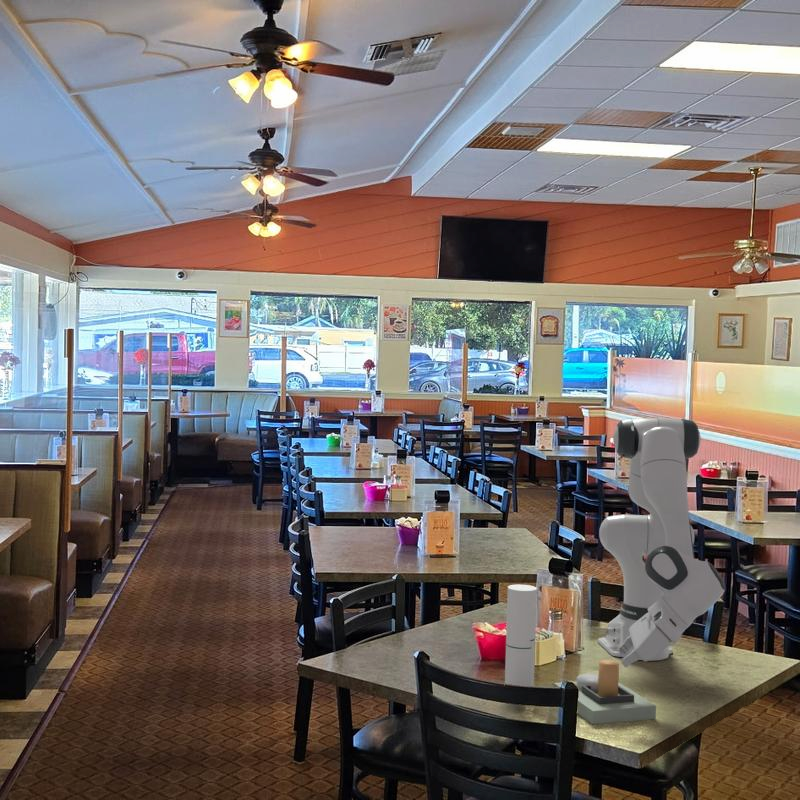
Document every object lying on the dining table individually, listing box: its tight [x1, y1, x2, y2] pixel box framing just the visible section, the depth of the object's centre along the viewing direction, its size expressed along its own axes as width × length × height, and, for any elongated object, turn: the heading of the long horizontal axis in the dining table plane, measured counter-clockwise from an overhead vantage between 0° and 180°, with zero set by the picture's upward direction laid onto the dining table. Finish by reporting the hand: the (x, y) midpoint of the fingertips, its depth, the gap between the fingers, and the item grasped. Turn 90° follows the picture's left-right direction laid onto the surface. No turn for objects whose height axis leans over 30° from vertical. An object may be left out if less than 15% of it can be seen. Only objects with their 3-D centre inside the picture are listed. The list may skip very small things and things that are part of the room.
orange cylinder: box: [597, 659, 620, 697], centre depth 231 cm, size 5×5×8 cm
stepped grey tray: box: [553, 673, 657, 725], centre depth 233 cm, size 20×16×5 cm
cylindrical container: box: [504, 583, 538, 687], centre depth 244 cm, size 7×7×25 cm
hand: (621, 658), depth 230 cm, fingers open, 8 cm apart
